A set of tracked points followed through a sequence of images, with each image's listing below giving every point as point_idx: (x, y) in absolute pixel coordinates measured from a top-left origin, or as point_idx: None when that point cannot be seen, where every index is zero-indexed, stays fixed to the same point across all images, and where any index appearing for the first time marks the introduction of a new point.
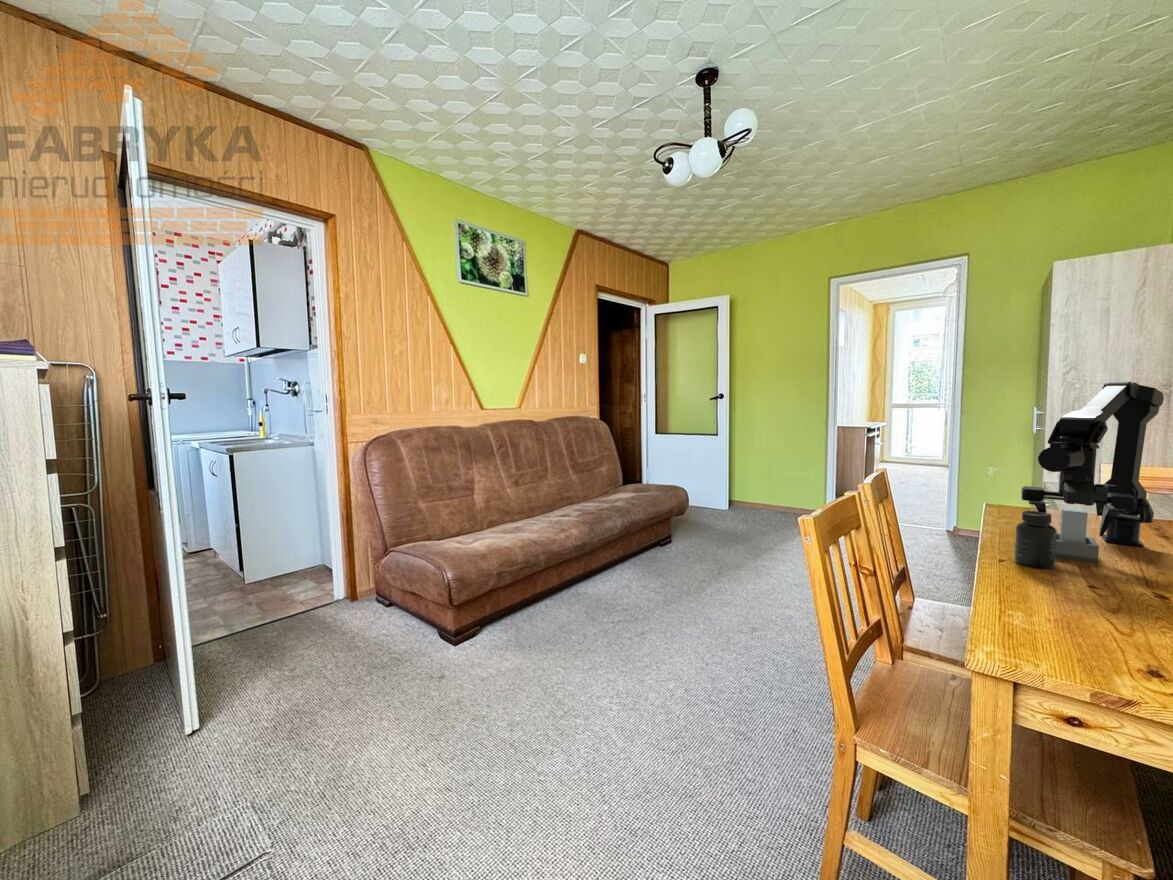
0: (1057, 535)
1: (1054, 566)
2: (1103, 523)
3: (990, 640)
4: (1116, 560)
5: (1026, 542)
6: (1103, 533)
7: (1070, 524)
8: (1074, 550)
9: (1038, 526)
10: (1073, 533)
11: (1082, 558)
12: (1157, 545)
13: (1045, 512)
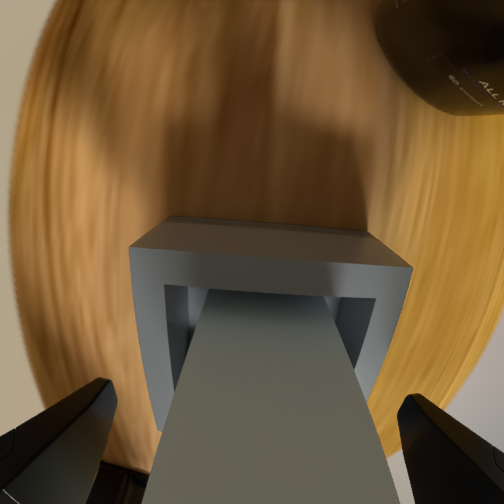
0: None
1: (377, 8)
2: (43, 444)
3: None
4: (106, 317)
5: None
6: (84, 389)
7: (308, 437)
8: (268, 239)
9: None
10: (272, 367)
11: (229, 222)
12: None
13: (497, 484)
